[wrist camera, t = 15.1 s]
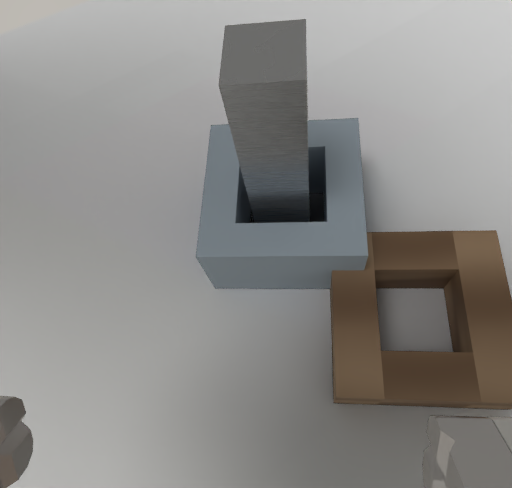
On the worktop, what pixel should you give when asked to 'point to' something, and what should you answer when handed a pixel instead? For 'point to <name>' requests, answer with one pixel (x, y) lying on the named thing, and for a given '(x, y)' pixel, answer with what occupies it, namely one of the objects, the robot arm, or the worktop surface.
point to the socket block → (459, 315)
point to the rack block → (286, 233)
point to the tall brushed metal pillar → (269, 115)
